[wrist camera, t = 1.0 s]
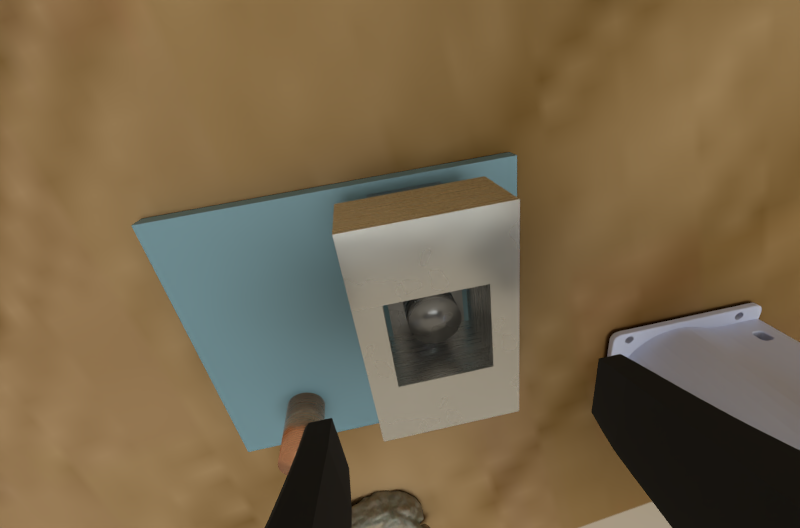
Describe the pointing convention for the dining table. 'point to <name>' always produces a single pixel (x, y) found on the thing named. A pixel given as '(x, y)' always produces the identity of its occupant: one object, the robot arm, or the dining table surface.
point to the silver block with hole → (426, 276)
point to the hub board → (281, 295)
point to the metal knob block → (426, 306)
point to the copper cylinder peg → (298, 425)
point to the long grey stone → (388, 511)
